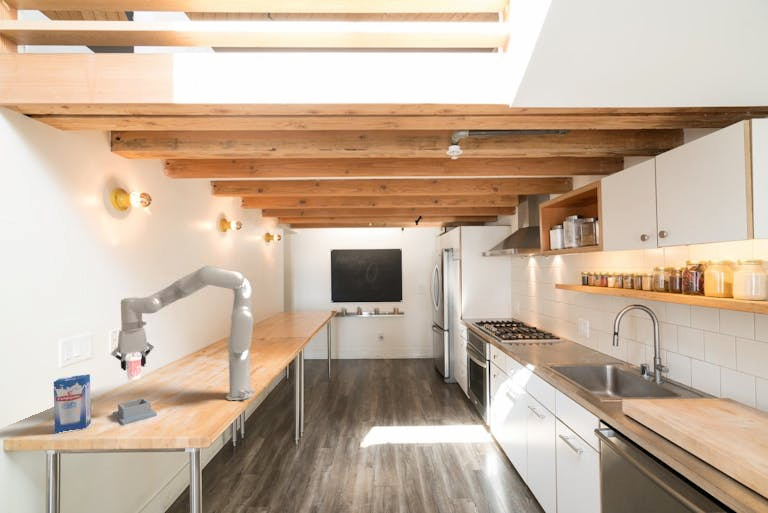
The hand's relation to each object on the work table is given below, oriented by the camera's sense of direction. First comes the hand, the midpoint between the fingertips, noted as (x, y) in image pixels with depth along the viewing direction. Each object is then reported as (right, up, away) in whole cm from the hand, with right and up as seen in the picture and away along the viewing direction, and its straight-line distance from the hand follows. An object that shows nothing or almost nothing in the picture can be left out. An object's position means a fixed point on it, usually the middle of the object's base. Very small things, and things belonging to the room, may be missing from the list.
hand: (133, 367), depth 162 cm
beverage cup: (0, -5, 0) cm, 5 cm away
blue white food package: (-16, -21, -12) cm, 29 cm away
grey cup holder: (+1, -20, -1) cm, 20 cm away
